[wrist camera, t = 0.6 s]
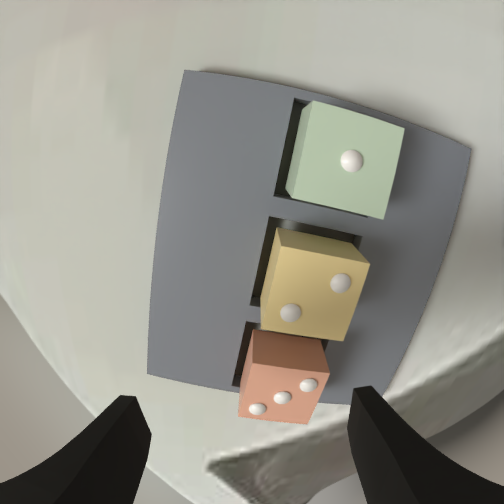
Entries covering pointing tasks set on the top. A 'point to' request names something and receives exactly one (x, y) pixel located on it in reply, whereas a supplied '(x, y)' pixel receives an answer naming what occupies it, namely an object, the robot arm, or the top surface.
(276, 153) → the grey slotted tray
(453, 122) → the top surface
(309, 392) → the tile three pips
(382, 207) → the tile one pip
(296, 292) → the tile two pips
